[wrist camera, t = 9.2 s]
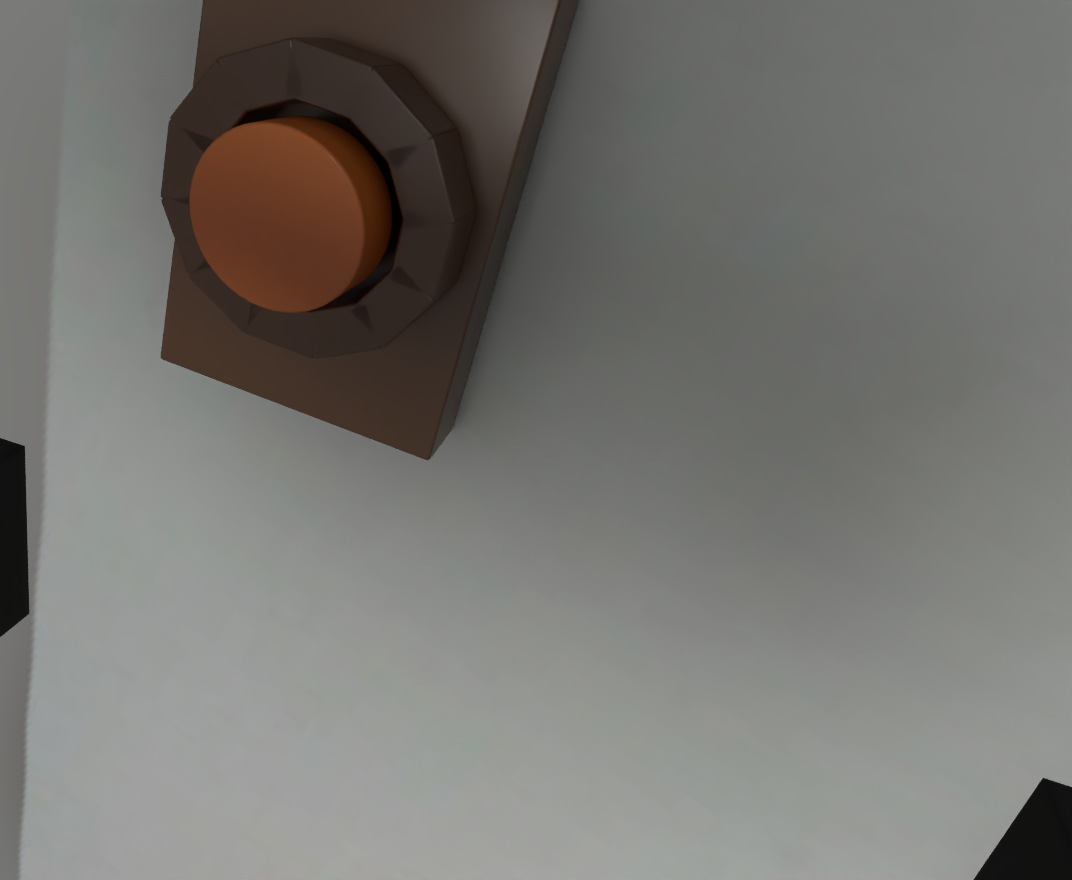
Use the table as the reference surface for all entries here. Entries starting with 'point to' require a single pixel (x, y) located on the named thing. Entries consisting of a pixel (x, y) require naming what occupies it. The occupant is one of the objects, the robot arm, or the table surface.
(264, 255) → the button
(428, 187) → the button block
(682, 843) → the table surface
